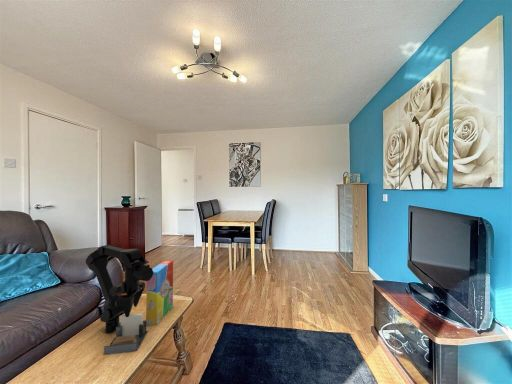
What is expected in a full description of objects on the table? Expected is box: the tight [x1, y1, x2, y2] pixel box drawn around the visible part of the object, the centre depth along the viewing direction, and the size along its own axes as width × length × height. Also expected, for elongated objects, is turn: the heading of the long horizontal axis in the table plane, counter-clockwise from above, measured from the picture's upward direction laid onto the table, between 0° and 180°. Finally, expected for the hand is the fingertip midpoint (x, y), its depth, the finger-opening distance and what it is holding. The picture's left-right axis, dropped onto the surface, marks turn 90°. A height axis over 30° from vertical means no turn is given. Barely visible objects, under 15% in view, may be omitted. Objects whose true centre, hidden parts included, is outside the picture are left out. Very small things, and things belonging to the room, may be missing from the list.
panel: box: [120, 313, 144, 336], centre depth 103 cm, size 1×9×9 cm, turn 99°
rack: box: [102, 319, 149, 356], centre depth 98 cm, size 14×13×6 cm
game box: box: [145, 259, 174, 327], centre depth 121 cm, size 21×6×27 cm, turn 179°
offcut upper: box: [113, 335, 135, 345], centre depth 95 cm, size 3×7×2 cm, turn 104°
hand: (131, 311), depth 103 cm, fingers open, 9 cm apart
